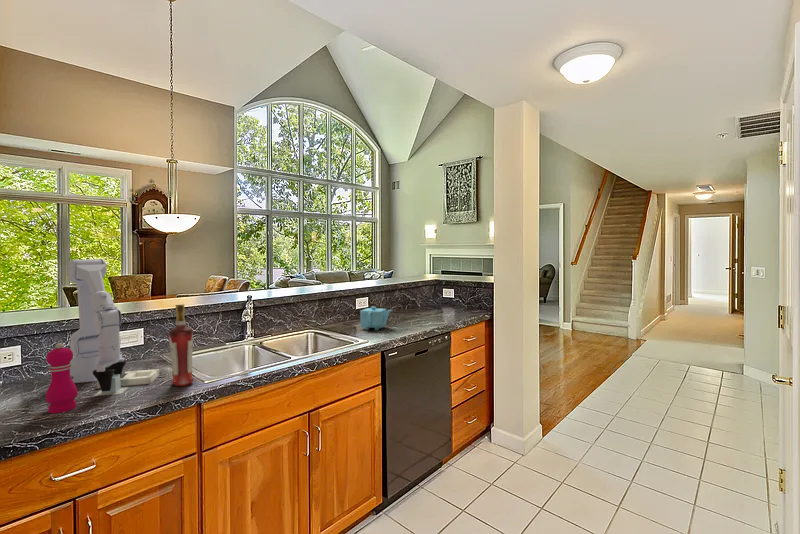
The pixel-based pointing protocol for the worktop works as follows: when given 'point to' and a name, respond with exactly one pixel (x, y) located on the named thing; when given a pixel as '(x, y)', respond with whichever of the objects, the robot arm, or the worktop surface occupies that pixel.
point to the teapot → (374, 318)
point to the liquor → (181, 350)
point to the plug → (114, 385)
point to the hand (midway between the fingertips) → (111, 386)
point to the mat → (112, 393)
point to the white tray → (137, 377)
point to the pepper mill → (61, 381)
